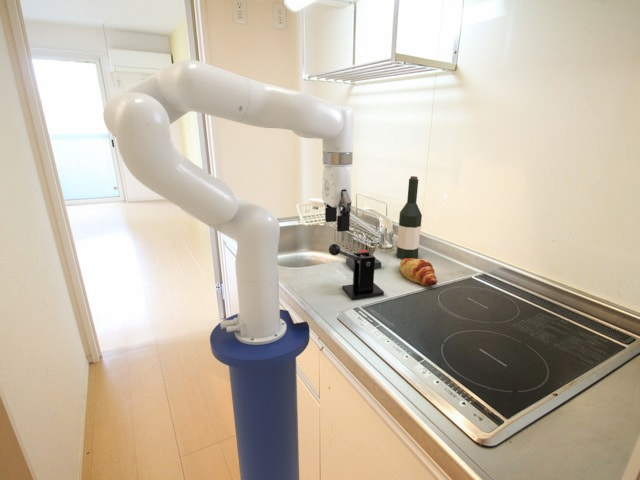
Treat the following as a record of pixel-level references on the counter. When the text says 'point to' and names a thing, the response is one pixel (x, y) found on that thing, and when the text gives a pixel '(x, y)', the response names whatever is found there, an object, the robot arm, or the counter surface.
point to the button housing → (351, 262)
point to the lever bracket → (363, 279)
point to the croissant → (418, 271)
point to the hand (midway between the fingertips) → (336, 226)
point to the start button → (363, 251)
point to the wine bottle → (409, 224)
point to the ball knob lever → (342, 252)
